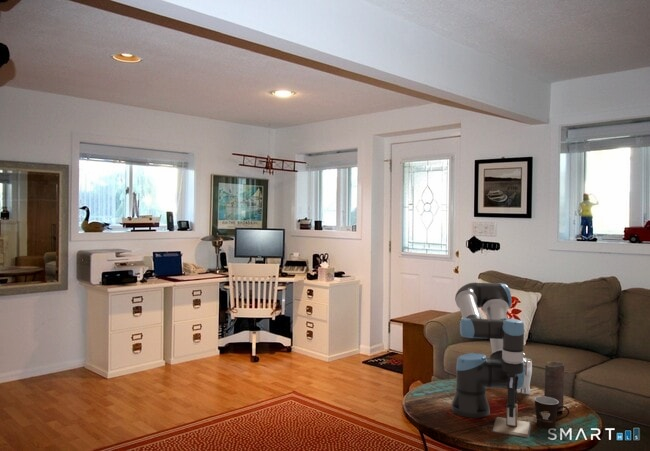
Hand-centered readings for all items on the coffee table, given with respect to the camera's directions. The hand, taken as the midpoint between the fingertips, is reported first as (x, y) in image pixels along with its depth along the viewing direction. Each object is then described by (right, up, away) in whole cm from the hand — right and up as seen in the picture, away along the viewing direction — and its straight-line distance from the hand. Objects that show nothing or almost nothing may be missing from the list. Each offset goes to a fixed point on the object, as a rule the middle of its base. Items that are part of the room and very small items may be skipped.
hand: (511, 422), depth 199 cm
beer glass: (+20, -2, +41) cm, 45 cm away
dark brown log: (+24, -2, +19) cm, 31 cm away
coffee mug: (+15, -3, +2) cm, 16 cm away
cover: (0, -2, 0) cm, 2 cm away
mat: (0, -3, 0) cm, 3 cm away
